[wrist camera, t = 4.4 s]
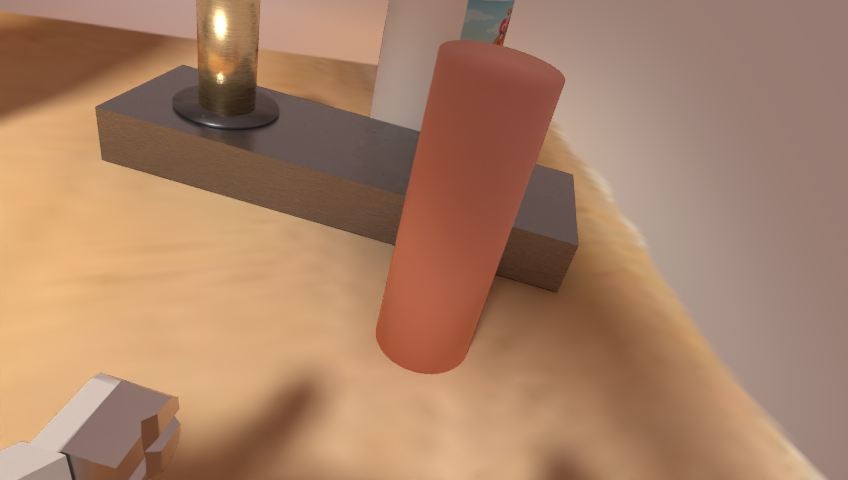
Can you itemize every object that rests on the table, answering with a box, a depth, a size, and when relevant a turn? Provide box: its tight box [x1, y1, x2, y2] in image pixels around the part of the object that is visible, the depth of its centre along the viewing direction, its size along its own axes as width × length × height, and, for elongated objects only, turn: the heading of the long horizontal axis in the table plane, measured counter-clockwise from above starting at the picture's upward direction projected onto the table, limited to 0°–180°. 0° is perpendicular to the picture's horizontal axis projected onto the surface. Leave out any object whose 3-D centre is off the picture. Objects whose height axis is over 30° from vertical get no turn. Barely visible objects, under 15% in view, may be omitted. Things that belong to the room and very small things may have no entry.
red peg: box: [376, 40, 565, 374], centre depth 21 cm, size 4×4×12 cm
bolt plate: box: [95, 0, 578, 292], centre depth 30 cm, size 25×8×9 cm, turn 78°
